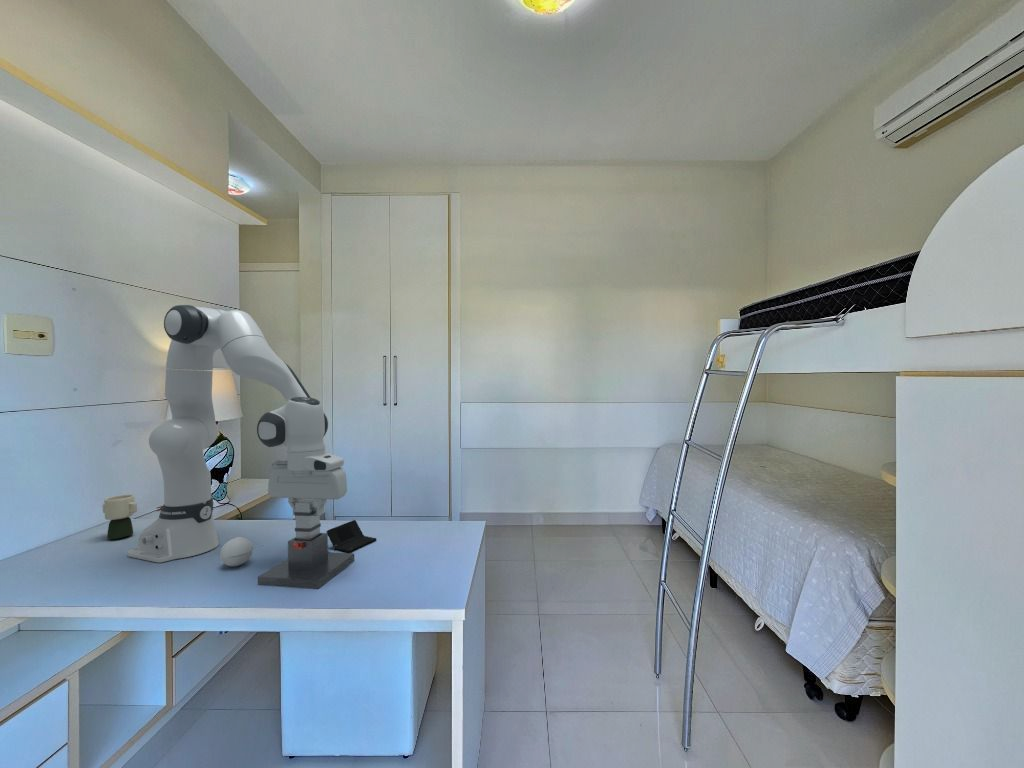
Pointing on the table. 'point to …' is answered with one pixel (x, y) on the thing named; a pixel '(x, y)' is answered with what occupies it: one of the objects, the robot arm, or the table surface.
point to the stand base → (307, 565)
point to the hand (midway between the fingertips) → (307, 515)
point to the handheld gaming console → (348, 537)
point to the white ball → (236, 551)
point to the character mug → (119, 515)
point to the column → (306, 520)
